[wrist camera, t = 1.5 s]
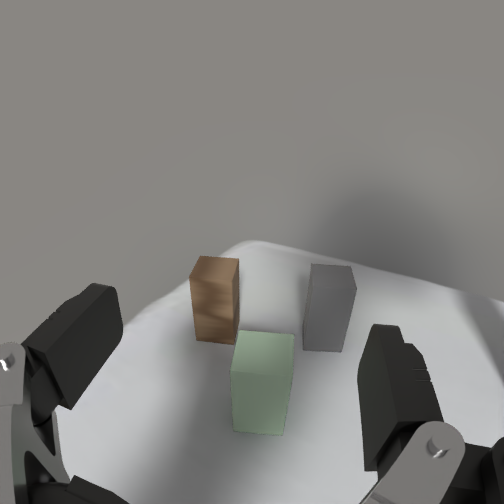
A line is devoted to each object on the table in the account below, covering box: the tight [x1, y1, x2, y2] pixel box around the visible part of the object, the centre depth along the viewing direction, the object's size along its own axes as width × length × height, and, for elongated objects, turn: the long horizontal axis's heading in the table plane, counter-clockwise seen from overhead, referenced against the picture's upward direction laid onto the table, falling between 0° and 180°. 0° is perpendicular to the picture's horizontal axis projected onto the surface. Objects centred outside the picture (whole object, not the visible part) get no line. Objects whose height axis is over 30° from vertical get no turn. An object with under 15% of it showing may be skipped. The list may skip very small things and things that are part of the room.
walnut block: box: [189, 256, 239, 345], centre depth 41 cm, size 5×5×10 cm
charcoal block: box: [303, 264, 357, 352], centre depth 40 cm, size 5×5×10 cm
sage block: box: [230, 330, 294, 436], centre depth 29 cm, size 5×5×10 cm
